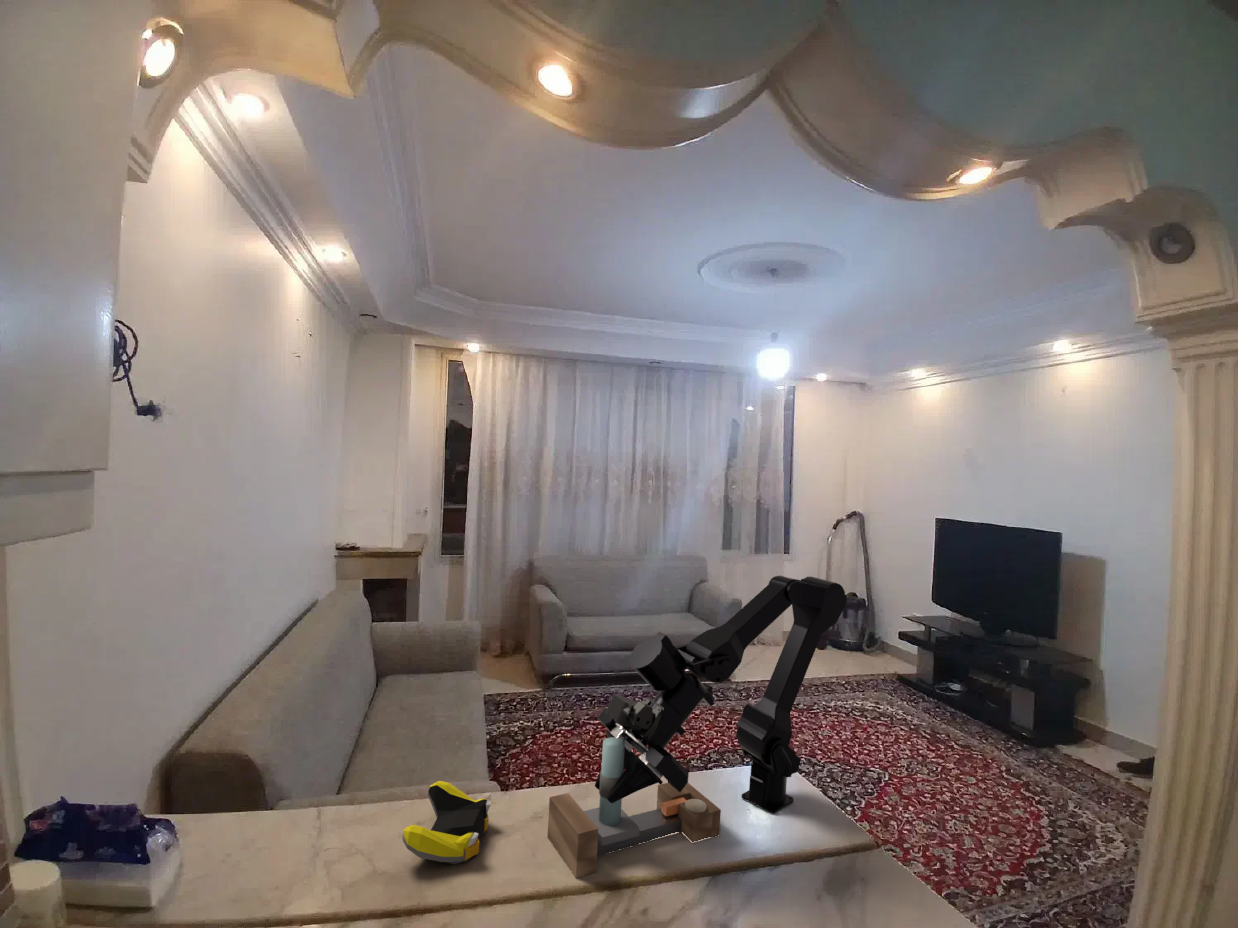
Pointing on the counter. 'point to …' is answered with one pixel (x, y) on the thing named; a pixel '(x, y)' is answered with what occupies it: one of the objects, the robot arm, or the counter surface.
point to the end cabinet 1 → (573, 834)
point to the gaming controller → (449, 826)
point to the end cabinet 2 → (692, 811)
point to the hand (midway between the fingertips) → (602, 794)
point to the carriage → (608, 815)
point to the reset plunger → (671, 806)
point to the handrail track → (646, 830)
